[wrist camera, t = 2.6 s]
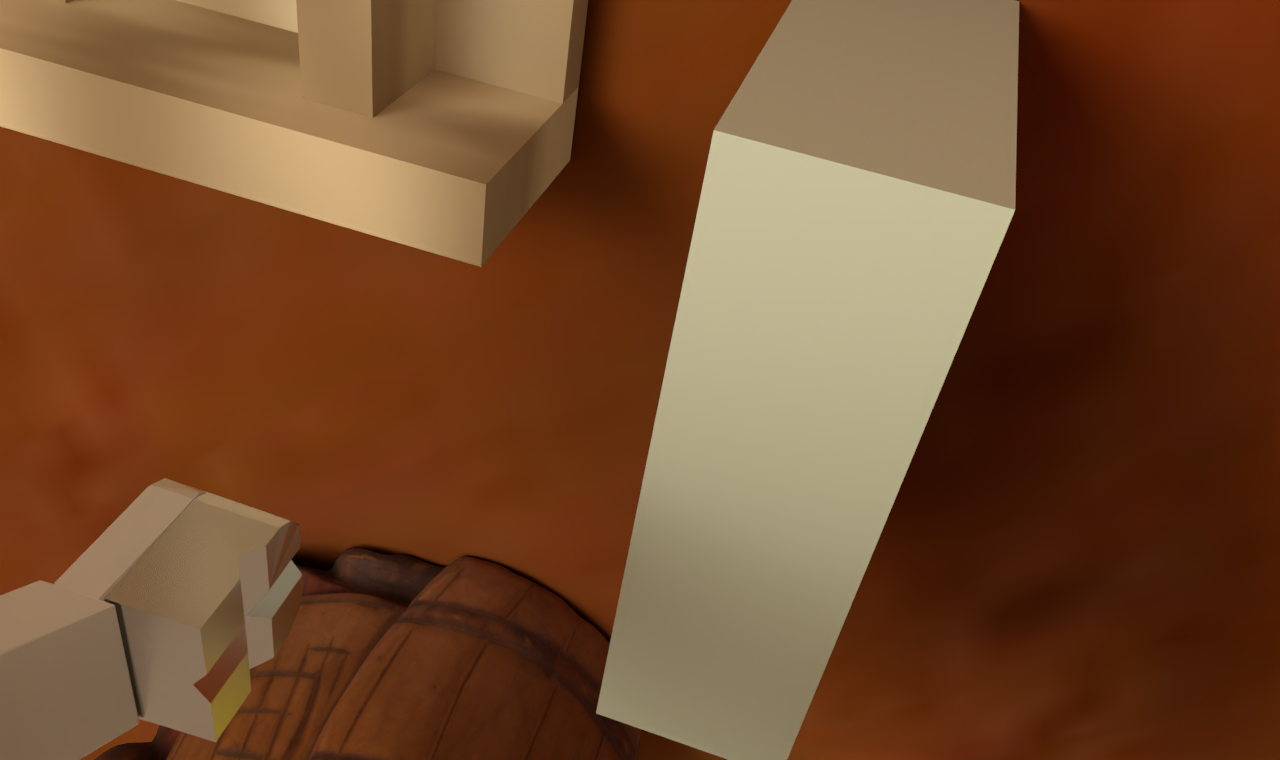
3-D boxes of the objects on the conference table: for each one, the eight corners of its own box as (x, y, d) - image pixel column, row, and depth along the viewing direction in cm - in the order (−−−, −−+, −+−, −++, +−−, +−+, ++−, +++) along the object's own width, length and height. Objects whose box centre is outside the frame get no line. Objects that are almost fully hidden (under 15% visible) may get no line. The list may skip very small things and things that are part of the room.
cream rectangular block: (1019, -1, 15) (1015, 209, 10) (841, 485, 22) (779, 777, 16) (820, -47, 16) (713, 130, 10) (702, 442, 22) (595, 713, 17)
